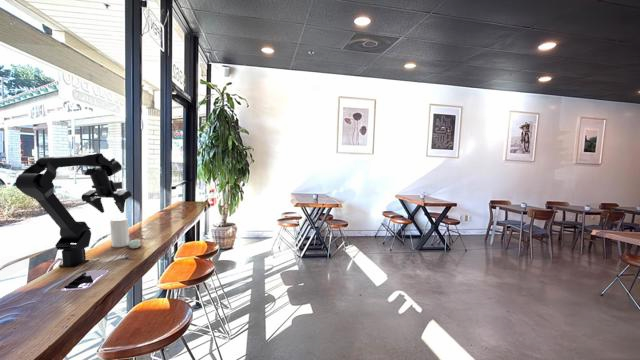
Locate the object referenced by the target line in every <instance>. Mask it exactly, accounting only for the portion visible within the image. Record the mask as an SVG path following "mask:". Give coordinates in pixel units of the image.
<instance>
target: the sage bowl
mask: <svg viewBox="0 0 640 360" xmlns="http://www.w3.org/2000/svg"><path fill="white" fill-rule="evenodd" d="M141 245H142V244H141V239H131V240H129V245H128V247H129V248H130V249H137V248H139V247H141Z"/></svg>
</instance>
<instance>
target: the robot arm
mask: <svg viewBox="0 0 640 360" xmlns="http://www.w3.org/2000/svg"><path fill="white" fill-rule="evenodd" d="M66 167H67V168H68V167H85V168H86V167H87V169H86V170H85V172H84V176H90V179H91V182H92V184H93V185H91V188H92V189H90V190H88V191H86V192H84V193H82V195H81V200H82V202H85V203H87V204H89V205H90V206H92V207H93V208H95V209H96V210H97V211H98V212H100V213H101V214H103V213H105V209H104V205H103V203H102V198H106V199H108V198H110V199H113V201H114V204H115V206H116V207H117V209H118V211H119V212H120V213H121V214H123V213H125V204H126V200H128V199H129V198H130V197H132V193H131V190H127V189H124V190H123V181H113V180H112V179H111V180H110V177H112V176H113V175H115V174H117V173H118V172H120V171H121V170H122V169H123V167H122V164H121V163H120V162H119V161H118V160H116V159H115V158H114V157H109V158H107V157H105V155H103V153H102V152H84V153H83V152H82V153H79V154H77V155H72V156H69V155H68V156H43V157H40V158H38V160H37V161H36V162H35V163H33V164H32V165H30V166H28V167H27V168H25V169H24V170H23V171H22V173H21V174H19V175H18V176H17V177H16V179H15V182H14V184H15V187H16V189H18V190H19V191H20V192H22V193H23V194H24V195H25V196H27V197H30V198H32V199H34V200H36V202H37V203H39V205H40V206H41V207H42V209H43V210H44V211H45V212H46V213H47V215H49V217H50V218H51V219H52V220H53V222H54V223H55V224H56V225H57V226H58V228H59V236H60V238H59V240H58V241H57V242H56V244H55V248H56V250H57V251H60V250H61V255H62V257H61V258H62V259H61V260H62V264H59V265H58V267H59V268H76V267H78V266H81V265H84V264H85V263H88V262H90V260H89V259H86V258H87V257H86V248H88V247H90V246H89V245H90V241H91V239H92V231H91V227H89V226H88V224H87V222H86V221H76V220H75V218H74V216H72V215H71V213H70V212H69V211H68V209H67V208H66V207H65V206H64V204H63V203H62V202H61V200H60V199H59V198H58V197H57V196H56V194H55V185H54V183H53V181H54V180H55V179H56V177H57V170H58V169H59V168H66ZM88 167H90V168H88ZM92 167H93V168H92ZM44 171H45V172H44ZM42 172H44V173H42ZM119 189H120V190H119ZM118 190H119V191H118ZM117 191H118V192H117ZM115 192H116V193H115Z"/></svg>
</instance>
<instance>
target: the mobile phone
mask: <svg viewBox="0 0 640 360" xmlns="http://www.w3.org/2000/svg"><path fill="white" fill-rule="evenodd" d="M108 273H109V269H100V270H89V271H85V272H83V273H82V274H81V275H80V274H79V276H77V277H76V278H74V279H73V280H72V281H70V282H69V283H67V284H66V285H64V286H63V287H62V288H61V289H60V291H61V292H66V291H77V290H86V289H89V288H90V287H91V286H92V285H94V284H96V282H97V281H99V280H101V278H103V277H104V276H105V275H106V274H108Z"/></svg>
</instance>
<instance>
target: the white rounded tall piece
mask: <svg viewBox="0 0 640 360" xmlns="http://www.w3.org/2000/svg"><path fill="white" fill-rule="evenodd" d="M109 223H110V238H111V247H112V248H123V247H127V246H129V241H130V227H129V218H127V217H120V218H114V219H110V222H109Z"/></svg>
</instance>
